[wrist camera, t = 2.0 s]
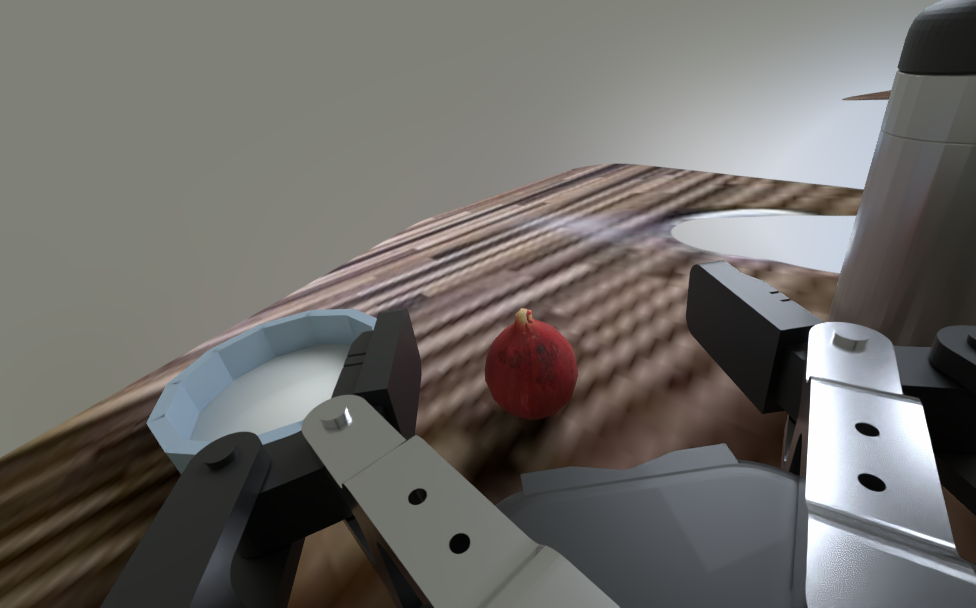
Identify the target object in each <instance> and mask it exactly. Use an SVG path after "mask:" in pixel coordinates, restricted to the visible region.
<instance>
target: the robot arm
mask: <svg viewBox="0 0 976 608" xmlns="http://www.w3.org/2000/svg"><path fill="white" fill-rule="evenodd" d="M898 68H899V70H898V71H897V73H896V76H895V79H894V83H893V87H892V90H891V94H890V97H889V101H888V105H887V108H886V112H885V115H884V119H883V122H882V126H881V131H880V134H879V138H878V141H877V145H876V149H875V152H874V156H873V159H872V163H871V166H870V170H869V173H868V177H867V181H866V184H865V188H864V191H863V195H862V198H861V202H860V206H859V209H858V213H857V216H856V220H855V224H854V227H853V231H852V234H851V238H850V241H849V245H848V248H847V252H846V255H845V259H844V263H843V266H842V270H841V273H840V277H839V280H838V283H837V287H836V291H835V294H834V298H833V301H832V305H831V308H830V312H829V316H828V319H827V322H826V323H825V322H823V321H822V320H820V319H819V318H817V317H816V316H814V315H813V314H811V313H810V312H808V311H807V310H806V309H804V308H803V307H801V306H800V305H798V304H797V303H795V302H794V301H790V299H789V298H788V297H787V296H785V295H784V294H782V293H778V290H776V289H775V288H773V287H772V286H770V285H769V284H768V283H766V282H765V281H762V280H759V279H756V278H753V277H751V276H748V275H744V274H742V273H741V272H740V271H738V270H737V269H735V268H734V267H732V266H731V265H730V264H728V263H727V262H725V261H716V262H709V263H702V264H696V265H694V266H693V267H692V268H691V271H690V278H689V288H688V299H687V309H686V320H687V325H688V328H689V331H690V333H691V334H692V336H693V337H694V338H695V339H696V340H697V341H698V342H699V344H700V345H701V346H702V347H703V348H704V349H705V350H706V351H707V353H708V354H709V355H710V356H711V357H712V358H713V359H714V360H715V362H716V363H717V364H718V365H719V366H720V367H721V368H722V369H723V370H724V372H725V373H726V374H727V375H728V376H729V377H730V378H731V379H732V381H733V382H734V383H735V384H736V385H737V386H738V387H739V388H740V390H741V391H742V392H743V393H744V394H745V395H746V396H747V397H748V399H749V400H750V401H751V402H752V403H753V404H754V405H755V406H756V407H757V409H758V410H759V411H760V412H761V413H762V414H766V413H772V412H779V411H786V412H787V413H788V417H787V421H786V425H785V433H784V442H783V451H782V460H781V469H780V468H776V467H773V466H770V465H766V464H762V463H758V462H752V461H746V460H737V459H736V458H735V457H734V455H733V454H732V452H731V451H730V450H729V448H728V447H727V446H726V444H718V445H712V446H705V447H698V448H692V449H685V450H678V451H673V452H671V453H669V454H666V455H664V456H661V457H659V458H656V459H654V460H651V461H649V462H646V463H644V464H641V465H639V466H636V467H634V468H631V469H627V470H617V469H602V468H586V467H564V468H557V469H551V470H544V471H537V472H530V473H524V474H521V481H522V488H523V490H522V491H519V492H517V493H515V494H513V495H511V496H509V497H507V498H505V499H503V500H502V501H501V502H499V503H498V504H496V505H495V506H494V505H493V504H492V503H491V502H490V501H489V500H488V499H487V498H486V497H485V496H484V495H482V494H481V493H480V492H479V491H478V490H477V489H476V488H475V487H474V486H473V485H472V484H471V483H469V482H468V481H467V480H466V479H465V478H464V477H463V476H462V475H461V474H460V473H459V472H458V471H456V470H455V469H454V468H453V467H452V466H451V465H450V464H449V463H448V462H447V461H446V460H445V459H444V458H442V457H441V456H440V455H439V454H438V453H437V452H436V451H435V450H434V449H433V448H432V447H431V446H429V445H428V444H427V443H426V442H425V441H424V440H423V439H422V438H420V437H419V436H417V435H415V428H416V419H417V410H418V401H419V392H420V383H421V360H420V355H419V351H418V347H417V343H416V339H415V335H414V331H413V328H412V324H411V320H410V316H409V313H408V310H407V309H406V308H402V309H396V310H389V311H383V312H379V314H378V317H377V320H376V323H375V326H374V330H372V331H366V332H362V333H361V334H360V335H359V336H358V337H357V339H356V340H355V341H354V342H353V343H352V344H351V346H350V349H349V352H348V354H347V358H346V360H345V362H344V365H343V366H344V368H342V370H341V373H340V375H339V378H338V381H337V383H336V386H335V388H334V391H333V394H332V396H331V399H328V400H326V401H324V402H322V403H321V404H319V405H318V406H316V407H315V408H314V409H313V410H311V411H310V412H309V414H308V415H307V416H306V417H305V419H304V421H303V423H302V430H301V431H299V432H297V433H295V434H292V435H290V436H287V437H284V438H282V439H279V440H276V441H274V442H271V443H268V444H266V445H263V444H262V442H261V440H260V439H259V437H258V436H257V435H256V434H254V433H252V432H236V433H232V434H229V435H226V436H223V437H221V438H219V439H217V440H215V441H213V442H211V443H210V444H208V445H207V446H205V447H204V448H203V449H201V450H200V451H199V452H198V453H197V454H196V455H195V456H194V457H193V458H192V459H191V460H190V462H189V463H188V464H187V466H186V468H185V469H184V471H183V473H182V474H181V476H180V478H179V479H178V481H177V482H176V484H175V486H174V487H173V489H172V491H171V492H170V494H169V496H168V497H167V499H166V500H165V502H164V504H163V505H162V507H161V509H160V510H159V512H158V514H157V515H156V517H155V518H154V520H153V522H152V523H151V525H150V527H149V528H148V530H147V532H146V533H145V535H144V536H143V538H142V540H141V541H140V543H139V545H138V546H137V548H136V549H135V551H134V553H133V554H132V556H131V558H130V559H129V561H128V563H127V564H126V566H125V567H124V569H123V571H122V572H121V574H120V576H119V577H118V579H117V581H116V582H115V584H114V585H113V587H112V589H111V590H110V592H109V594H108V595H107V597H106V599H105V600H104V602H103V603H102V605H101V607H100V608H287V606H288V602H289V598H290V594H291V590H292V586H293V583H294V579H295V575H296V571H297V567H298V563H299V560H300V556H301V552H302V548H303V544H304V540H305V537H306V536H308V535H311V534H313V533H315V532H317V531H320V530H322V529H324V528H326V527H329V526H331V525H333V524H335V523H338V522H340V521H342V520H343V521H344V523H345V524H346V526H347V527H348V529H349V530H350V532H351V534H352V535H353V537H354V538H355V540H356V541H357V543H358V544H359V546H360V547H361V549H362V550H363V552H364V553H365V555H366V556H367V558H368V559H369V561H370V563H371V564H372V566H373V567H374V569H375V570H376V572H377V573H378V575H379V576H380V578H381V580H382V581H383V583H384V585H385V586H386V588H387V590H388V592H389V594H390V596H391V597H392V599H393V601H394V603H395V605H396V606H397V608H976V565H975V564H973V563H971V562H969V561H967V560H965V559H963V558H961V557H960V556H959V554H958V553H957V551H956V548H955V544H954V540H953V536H952V532H951V527H950V523H949V519H948V514H947V510H946V506H945V501H944V497H943V493H942V489H941V484H942V485H943V486H944V487H945V488H946V489H947V490H948V491H949V492H950V493H951V494H952V495H954V496H955V497H956V498H957V499H958V500H959V501H960V502H961V503H962V504H963V505H964V506H966V507H967V508H968V509H969V510H970V511H971V512H972V513H973V514H974V515H975V516H976V0H941V1H939V2H937V3H935V4H933V5H931V6H930V7H928V8H927V9H925V10H923V11H922V12H921V13H920V14H919V15H918V16H917V17H916V18H915V20H914V21H913V23H912V25H911V27H910V29H909V31H908V34H907V37H906V39H905V43H904V46H903V50H902V54H901V57H900V61H899V64H898ZM940 483H941V484H940Z"/></svg>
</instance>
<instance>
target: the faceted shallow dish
mask: <svg viewBox="0 0 976 608" xmlns="http://www.w3.org/2000/svg"><path fill="white" fill-rule="evenodd" d="M376 320H377V318H374V317H372V316H370V315H367V314H365V313H363V312H360V311H358V310H356V309H335V310H310V311H306V312H303V313H299V314H295V315H292V316H288V317H284V318H281V319H277V320H273V321H270V322H266V323H263V324H260V325H258V326H256V327H254V328H252V329H250V330H248V331H246V332H244V333H242V334H240V335H238V336H236V337H234V338H232V339H230V340H227V341H225V342H223V343H221V344H219V345H217V346H215V347H213V348H211V349H210V350H208V351H207V352H206V353H205V354H203V355H202V356H201V357H200V358H198V359H197V360H196V361H195V362H193V363H192V364H191V365H190V366H189V367H187V368H186V369H185V370H184V371H182V372H181V373H180V374H179V375H178V376H176V377H175V378H174V379H173V380H171V381H170V382H169V383H168V384H167V385H166V387H165V388H164V390H163V392H162V394H161V396H160V398H159V400H158V402H157V404H156V406H155V408H154V410H153V411H152V413H151V415H150V417H149V419H148V421H147V425H148V427H149V428H150V430H151V431H152V433H153V434H154V436H155V437H156V439H157V441H158V442H159V444H160V445H161V447H162V448H163V450H164V452H165V453H166V454H167V456H168V457H169V459H170V460H171V461H172V463H173V464H174V465H175V467H176V468H177V470H178V471H179V472H180V474H182V473H183V471H184V469H185V468H186V466H187V464H188V463H189V462H190V460H191V459H192V458H193V457H194V456H195V455H196V454H197V453H198V452H199V451H200V450H201V449H203V448H204V447H205V446H207V445H208V444H210V443H211V442H213V441H215V440H217V439H219V438H221V437H223V436H226V435H229V434H232V433H236V432H252V433H254V434H256V435H257V436H258V437H259V439H260V440H261V442H262V444H263V445H266V444H268V443H271V442H274V441H276V440H279V439H282V438H284V437H287V436H290V435H292V434H295V433H297V432H299V431H301V430H302V423H303V421H304V419H305V417H306V416H307V415H308V414H309V412H310V411H311V410H313V409H314V408H315V407H316V406H318V405H319V404H321V403H322V402H324V401H326V400H328V399H331V396H332V394H333V391H334V388H335V386H336V383H337V381H338V378H339V375H340V373H341V370H342V368H344V366H343V365H344V362H345V360H346V358H347V354H348V352H349V349H350V346H351V344H352V343H353V342H354V341H355V340H356V339H357V337H358V336H359V335H360V334H361V333H362V332H366V331H372V330H374V326H375V323H376Z"/></svg>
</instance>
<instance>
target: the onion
mask: <svg viewBox="0 0 976 608" xmlns="http://www.w3.org/2000/svg"><path fill="white" fill-rule="evenodd" d="M515 319H516V320H515V322H514V324H512V325H511V326H509V327H507V328H506V329H504V330H503V331H502V332H501V333H500V334H499V336H498V337H497V338H496V339H495V340H494V341H493V343H492V344H491V346H490V348H489V350H488V353H487V358H486V365H485V381H486V383H487V385H488V387H489V389H490V392H491V394H492V396H493V399H494V400H495V401H496V402H497V403H498V404H499V405H500V406H501V407H502V408H503V409H505V410H506V411H507V412H508V413H510V414H512V415H515V416H518V417H521V418H524V419H541V418H544V417H547V416H550V415H553V414H555V413H557V412H558V411H559V410H560V409H561V408H562V407H563V406H564V405H566V403H567V402H568V401H569V400H570V398H571V397H572V394H573V391H574V388H575V384H576V381H577V377H578V372H577V364H576V359H575V355H574V352H573V350H572V347H571V345H570V344H569V342H568V341H567V340H566V339H565V338H564V337H563V336H562V335H561V334H560V333H559V332H558V331H557V330H556V329H555V328H553V327H552V326H550V325H548V324H546V323H543V322H541V321H538V320H534V319H533V318H532V311H531V310H527V309H524V308H521V309H520V310H519V312H518V313H516V314H515Z"/></svg>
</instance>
